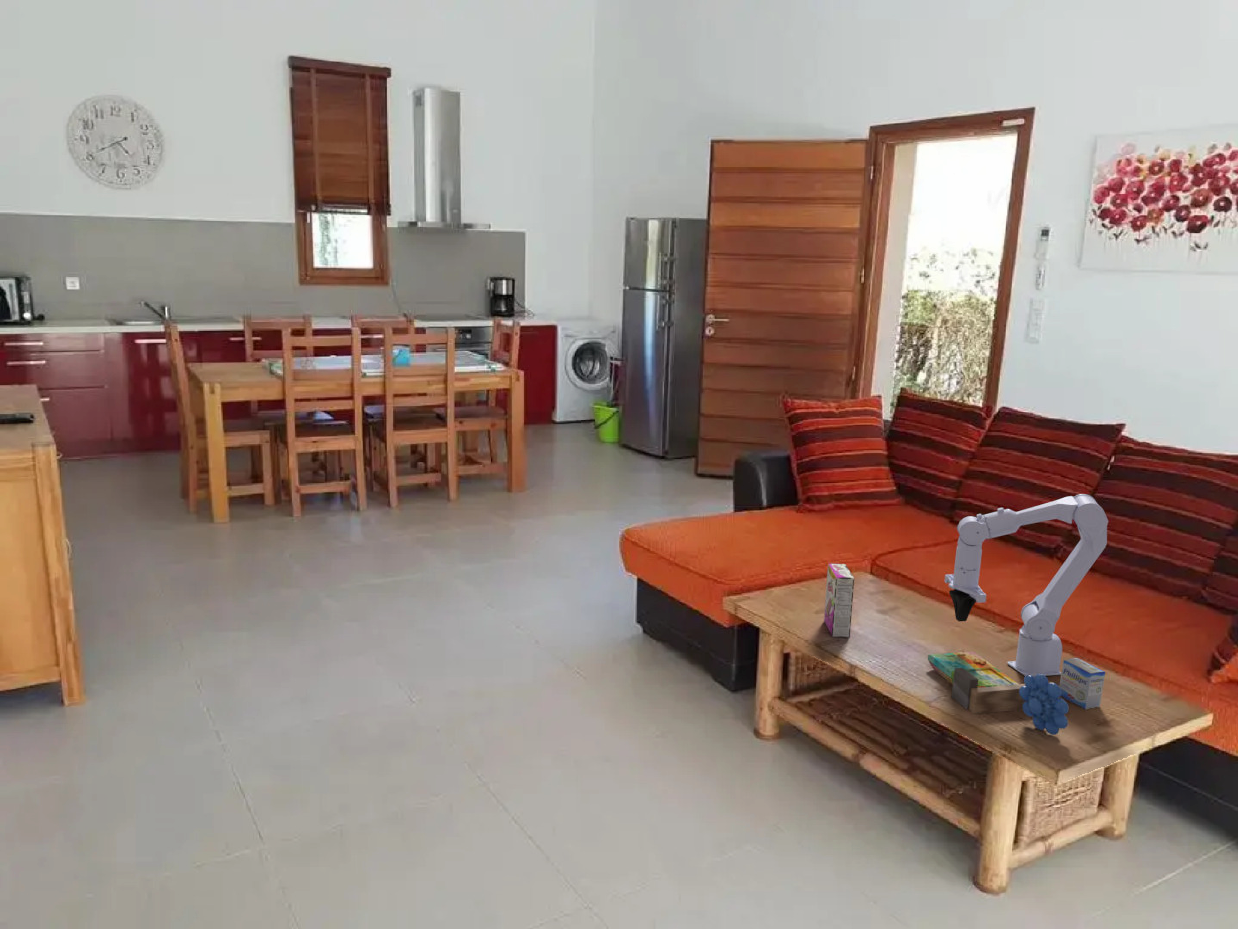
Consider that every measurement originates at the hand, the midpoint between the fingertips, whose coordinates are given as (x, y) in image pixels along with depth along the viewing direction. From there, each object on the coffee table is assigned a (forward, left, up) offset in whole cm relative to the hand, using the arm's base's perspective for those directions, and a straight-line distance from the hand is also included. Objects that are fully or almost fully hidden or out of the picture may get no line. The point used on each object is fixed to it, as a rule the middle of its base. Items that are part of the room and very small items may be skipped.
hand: (961, 620), depth 233 cm
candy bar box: (+21, -23, -11) cm, 33 cm away
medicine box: (-15, +24, -11) cm, 31 cm away
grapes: (+3, +35, -11) cm, 37 cm away
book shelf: (+3, +22, -10) cm, 25 cm away
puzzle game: (+4, +13, -11) cm, 17 cm away
